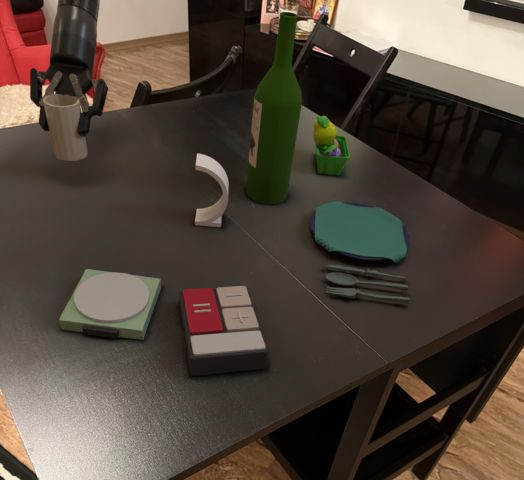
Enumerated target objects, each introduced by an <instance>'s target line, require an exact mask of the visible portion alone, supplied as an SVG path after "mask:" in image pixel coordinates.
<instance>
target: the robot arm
mask: <svg viewBox="0 0 524 480" xmlns="http://www.w3.org/2000/svg"><path fill="white" fill-rule="evenodd" d="M100 5H101V4H100V0H57V7H56V13H55V17H54V21H53V27H52V34H51V35H52V37H51V43H50V44H51V46H50V54H49V66H48V68H47V69H46V70H45V71H44V70H43V71H41V70H37V69H36V68H35V67H32V68H30V70H29V72H30V73H29V99H30V100H31V101H32V103H33V104H34V105H35V106H36V108H39V114H38V115H39V116H38V125H39V126H40V127H41V129H42V130H43V131H44V132H48V133H50V132H49V127H48V122H47V117H46V113H45V108H44V103H43V98H44V97H45V96H48V95H53V94H57V93H58V94H62V95H66V94H67V95H69V96H76V97H77V99H79V101H80V107H81V113H80V119H79V127H78V133H79V135H80V136H81V137H85V138H86V136H87V135H89V134H90V129H91V121H92V118H93V117H102V115H103V112H104V108H105V105H106V100H107V96H108V93H109V92H108V91H109V87H108V85H107V83H106V81H105V80H104V78H98V79H96V78H93V73H94V65H95V58H96V57H95V56H96V49H97V45H98V43H97V42H98V21H99V13H100V12H99V11H100ZM47 80H48V82H49V84H48V85H47V87H46V88H45V90H44V94H43V86H45V84H46V81H47ZM92 88H93V90H94V96H93V99H92V103H91V105H90V103H89V99H88V96H87V93H88V92H89V91H90V90H91V89H92Z"/></svg>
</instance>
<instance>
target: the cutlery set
mask: <svg viewBox="0 0 524 480" xmlns="http://www.w3.org/2000/svg"><path fill="white" fill-rule="evenodd" d="M309 225H310V230H311V233H312V234H313V236H314V240H315V242H316V244H317V245H320V246H321V247H322V248H324V250H325V251H326V250H327V252H328V253H329V252H335V253H337V254H340V255H341V256H344V257H347V258H350V259H351V258H352V259H355V260H360V261H371V262H380V261H387V260H391V261H393V262H394V263H395V264H396V263H398V262H400V261H402V260H403V259H404V258H405V257H406V255H407V253H408V247H409V246H410V238H411V236H410V234H409V231H408V229H407V227H406V226H405V225H404V224H403V222H402V220H401V219H400V218H399V217H397V216H396V215H394V214H392V213H390V212H389V211H388V210H385V209H384V208H381V207H375V206H373V205H368V204H363V203H360V202H349V201H338V200H331V201H329V202H326V203H323V204H321V205H318V206H316V207H315V211H314V212H313V213H312V214H311V217H310V220H309ZM325 268H326V269H329V270H330V269H331V270H337V271H343V272H333V271H332V272H329V273H325V279H327V280H328V281H330V282H331V283H333V284H335V285H338V286H342V287H331V286H325V293H326V294H329V295H335V296H340V297H345V298H348V299H357V298H360V297H364V298H369V299H373V300H377V301H383V302H384V301H385V302H392V303H393V302H394V303H401V304H407V305H409V304H410V302H411V298H410V297H404V296H397V295H396V296H395V295H382V294H374V293H370V292H366V291H361V289H356V288H355V287H352V286H354V285H368V286H376V287H384V288H391V289H397V290H401V291H406V292H407V291H408V289H409V287H408V284H401V283H392V282H383V281H368V280H367V281H366V280H365V281H364V280H359V279H358V278H357V277H355V276H353V275H352V274H348V273H344V272H351V273H357V274H363V275H365V276H366V277H368V276H372V277H378V276H382V277H387V278H395V279H399V280H403V281H404V282H405V281H406V275H403V276H402V275H393V274H389V273H386V272H385V273H384V272H379V271H378V270H375V269H372V270H370V269H369V268H367V269H366V270H365V269H362V268H357V267H352V266H351V267H350V266H346V265H345V266H344V265H340V264H339V265H338V264H326V265H325ZM350 286H351V287H352V288H346V287H350Z"/></svg>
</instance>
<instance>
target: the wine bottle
mask: <svg viewBox="0 0 524 480" xmlns="http://www.w3.org/2000/svg"><path fill="white" fill-rule="evenodd" d="M298 18H299V16H298V14H296V13H295V12H291V11H281V12H279V20H278V27H277V28H278V29H277V37H276V42H275V43H276V44H275V52H274V60H273V63H272V66H271V67H270V68H269V70H268V71H267V72H266V74H265V75H264V76H263V78H262V79H261V81H260V82H259V84H258V85H257V86H256V90H255V92H254V97H253V106H252V117H251V118H252V119H251V129H250V140H249V141H250V142H249V150H248V151H249V152H248V165H247V175H246V186H245V187H246V188H245V191H246V195H247V197H248V198H250V199H251V200H252V201H254V202H256V203H259V204H264V205H276V204H277V205H278V204H280V203H283V202H284V201H285V200H286V198H287V197H288V193H289V187H290V181H291V180H290V179H291V174H292V169H293V162H294V161H293V160H294V155H295V149H296V143H297V137H298V136H297V135H298V130H299V124H300V117H301V111H302V105H303V96H302V90H301V87H300V84H299V82H298V79H297V77H296V75H295V72H294V69H293V55H294V47H295V40H296V39H295V38H296V31H297V23H298Z"/></svg>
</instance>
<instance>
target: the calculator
mask: <svg viewBox="0 0 524 480" xmlns="http://www.w3.org/2000/svg"><path fill="white" fill-rule="evenodd" d="M178 299H179V301H178V305H179V311H180V318H181V323H182V329H183V330H182V331H183V336H184V342H185V348H186V356H187V363H188V368H189V373H190V375H191V376H192V377H196V376H205V375H207V376H208V375H216V374H217V375H218V374H227V373H235V372H246V371H255V370H264V369H266V368H267V366H268V358H269V352H270V349H269V346H268V343H267V340H266V337H265V334H264V331H263V329H262V325H261V323H260V319H259V316H258V313H257V310H256V307H255V305H254V301H253V298H252V295H251V292H250V290H249V287H247V286H246V285H236V286H234V285H233V286H220V287H216V288H213V287H203V288H185V289H182V290H180V291H179V292H178Z"/></svg>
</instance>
